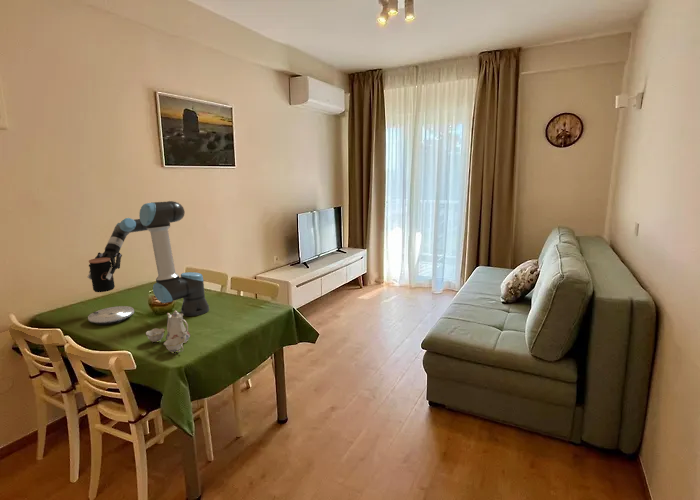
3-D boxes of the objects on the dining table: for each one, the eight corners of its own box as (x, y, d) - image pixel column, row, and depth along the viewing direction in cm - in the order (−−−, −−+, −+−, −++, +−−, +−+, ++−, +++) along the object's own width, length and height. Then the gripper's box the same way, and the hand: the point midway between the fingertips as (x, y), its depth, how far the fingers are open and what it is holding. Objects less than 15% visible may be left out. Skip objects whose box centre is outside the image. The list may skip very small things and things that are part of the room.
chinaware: (140, 346, 188) (132, 315, 183) (172, 330, 201) (165, 301, 196) (176, 361, 173) (168, 328, 168) (207, 343, 186) (201, 312, 181)
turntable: (142, 308, 226) (142, 306, 226) (116, 323, 205) (116, 320, 205) (107, 307, 229) (107, 305, 228) (78, 322, 207) (77, 319, 207)
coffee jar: (104, 293, 219) (99, 262, 216) (88, 292, 221) (83, 261, 218) (119, 287, 229) (114, 257, 226) (104, 286, 232) (99, 257, 228)
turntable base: (134, 314, 224) (134, 310, 224) (115, 325, 209) (115, 321, 208) (109, 313, 226) (108, 310, 226) (88, 324, 210) (87, 320, 210)
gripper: (135, 249, 235) (121, 281, 223) (100, 249, 237) (84, 281, 225) (128, 242, 229) (113, 275, 217) (92, 242, 231) (75, 275, 219)
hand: (98, 278), depth 221 cm, fingers closed on coffee jar, 11 cm apart
